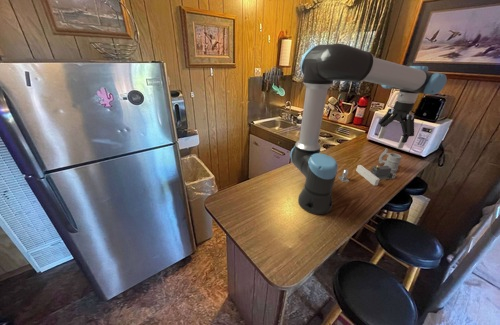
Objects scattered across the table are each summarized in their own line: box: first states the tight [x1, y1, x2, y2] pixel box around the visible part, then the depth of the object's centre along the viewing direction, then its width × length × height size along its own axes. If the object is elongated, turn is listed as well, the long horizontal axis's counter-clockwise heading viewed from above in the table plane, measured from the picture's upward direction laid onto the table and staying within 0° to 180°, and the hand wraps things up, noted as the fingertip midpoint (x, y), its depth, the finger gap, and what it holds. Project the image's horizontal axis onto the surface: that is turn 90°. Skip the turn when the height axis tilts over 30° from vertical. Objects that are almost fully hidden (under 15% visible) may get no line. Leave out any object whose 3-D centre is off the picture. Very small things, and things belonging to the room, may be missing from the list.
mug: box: [378, 148, 403, 173], centre depth 121 cm, size 8×12×12 cm, turn 31°
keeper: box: [367, 169, 397, 181], centre depth 114 cm, size 14×6×3 cm, turn 98°
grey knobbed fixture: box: [337, 168, 350, 183], centre depth 110 cm, size 4×5×6 cm
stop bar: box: [370, 164, 392, 178], centre depth 113 cm, size 9×4×7 cm, turn 98°
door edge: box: [355, 164, 381, 187], centre depth 112 cm, size 2×16×4 cm, turn 8°
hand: (389, 142), depth 104 cm, fingers open, 13 cm apart
